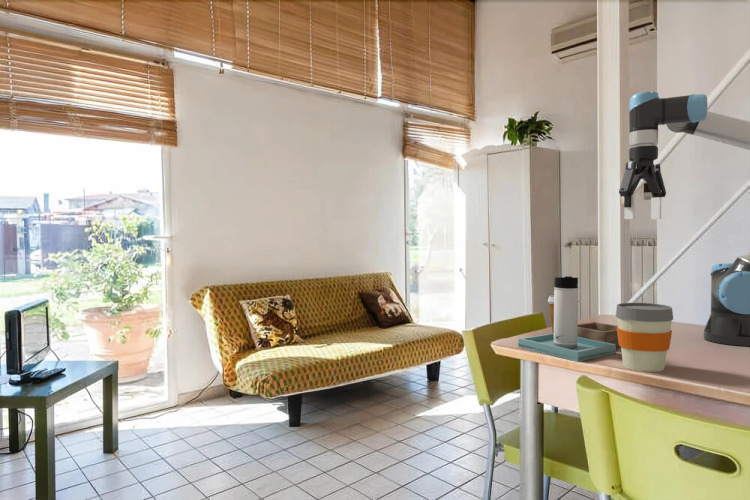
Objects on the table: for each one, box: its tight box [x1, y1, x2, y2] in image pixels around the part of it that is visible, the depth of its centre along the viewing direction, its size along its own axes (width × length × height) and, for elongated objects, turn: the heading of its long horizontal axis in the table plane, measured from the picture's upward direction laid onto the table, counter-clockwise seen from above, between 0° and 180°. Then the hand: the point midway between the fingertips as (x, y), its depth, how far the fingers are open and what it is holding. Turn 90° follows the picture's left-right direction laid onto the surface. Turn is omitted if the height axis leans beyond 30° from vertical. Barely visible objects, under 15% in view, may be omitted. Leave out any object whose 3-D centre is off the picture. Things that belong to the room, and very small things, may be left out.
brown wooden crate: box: [577, 321, 621, 349], centre depth 153 cm, size 12×12×5 cm
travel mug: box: [553, 275, 579, 349], centre depth 145 cm, size 6×7×20 cm
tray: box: [517, 332, 617, 362], centre depth 146 cm, size 20×16×2 cm
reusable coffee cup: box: [615, 302, 674, 373], centre depth 127 cm, size 13×13×15 cm
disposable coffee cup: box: [547, 295, 579, 333], centre depth 169 cm, size 10×10×12 cm
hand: (643, 219), depth 153 cm, fingers open, 13 cm apart
